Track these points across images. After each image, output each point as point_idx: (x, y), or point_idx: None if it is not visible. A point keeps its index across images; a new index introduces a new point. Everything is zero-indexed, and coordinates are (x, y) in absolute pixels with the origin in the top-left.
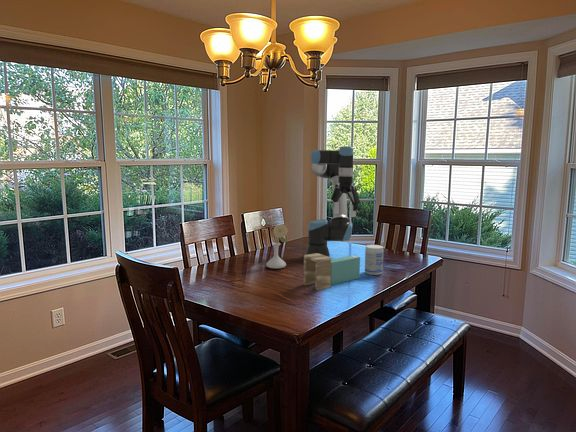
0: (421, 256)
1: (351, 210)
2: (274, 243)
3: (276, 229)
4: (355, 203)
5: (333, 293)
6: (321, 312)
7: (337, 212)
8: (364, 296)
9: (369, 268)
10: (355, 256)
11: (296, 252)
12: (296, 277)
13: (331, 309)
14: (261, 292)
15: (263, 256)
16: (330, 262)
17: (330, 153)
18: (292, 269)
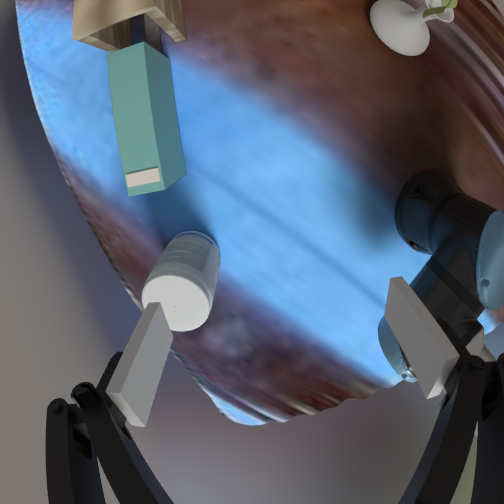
0: (269, 415)
1: (139, 343)
2: (449, 11)
3: None
4: (65, 402)
5: (91, 53)
6: (37, 11)
7: (389, 311)
8: (50, 118)
9: (176, 239)
10: (139, 184)
11: (490, 194)
12: (267, 12)
13: (35, 29)
14: None
15: (497, 89)
16: (82, 40)
17: None
18: (357, 49)
